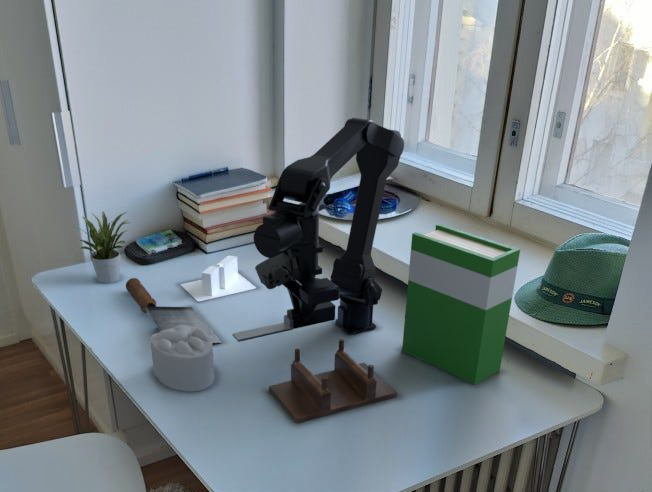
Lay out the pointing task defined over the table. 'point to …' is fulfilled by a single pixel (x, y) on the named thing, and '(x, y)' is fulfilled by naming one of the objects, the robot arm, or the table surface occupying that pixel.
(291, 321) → the kitchen knife
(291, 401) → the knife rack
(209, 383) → the lumpy-topped squat cylinder
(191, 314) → the meat cleaver
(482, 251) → the hardback book
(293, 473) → the table surface
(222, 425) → the table surface
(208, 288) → the napkin holder
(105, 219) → the house plant
